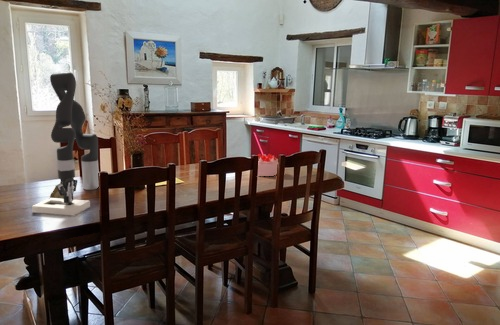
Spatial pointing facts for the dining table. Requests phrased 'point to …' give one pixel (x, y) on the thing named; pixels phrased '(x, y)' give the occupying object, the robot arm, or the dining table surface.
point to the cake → (267, 165)
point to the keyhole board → (60, 207)
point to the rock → (56, 193)
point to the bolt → (69, 196)
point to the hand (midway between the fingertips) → (68, 201)
